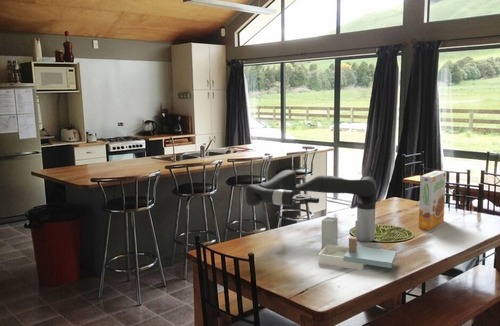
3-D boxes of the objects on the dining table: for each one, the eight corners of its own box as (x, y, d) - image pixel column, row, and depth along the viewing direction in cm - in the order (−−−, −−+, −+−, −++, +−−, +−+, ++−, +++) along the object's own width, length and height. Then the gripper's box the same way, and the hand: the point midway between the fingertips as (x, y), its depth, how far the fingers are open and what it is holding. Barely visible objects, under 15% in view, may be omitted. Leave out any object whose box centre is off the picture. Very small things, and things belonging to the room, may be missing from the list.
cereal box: (429, 229, 254) (432, 177, 249) (418, 227, 258) (420, 176, 254) (443, 221, 271) (446, 171, 266) (432, 219, 275) (435, 170, 270)
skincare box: (332, 250, 224) (332, 221, 221) (320, 248, 227) (321, 220, 224) (337, 245, 231) (338, 217, 228) (326, 243, 234) (326, 216, 231)
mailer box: (318, 263, 207) (318, 254, 207) (327, 253, 220) (327, 244, 219) (362, 270, 199) (362, 260, 198) (368, 259, 211) (369, 250, 211)
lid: (343, 260, 201) (343, 242, 200) (351, 249, 215) (352, 232, 214) (391, 267, 192) (392, 248, 191) (396, 255, 206) (397, 237, 205)
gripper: (278, 192, 211) (314, 195, 204) (288, 187, 223) (322, 189, 215) (278, 208, 212) (314, 211, 205) (288, 202, 224) (322, 205, 217)
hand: (318, 200), depth 210 cm, fingers closed
